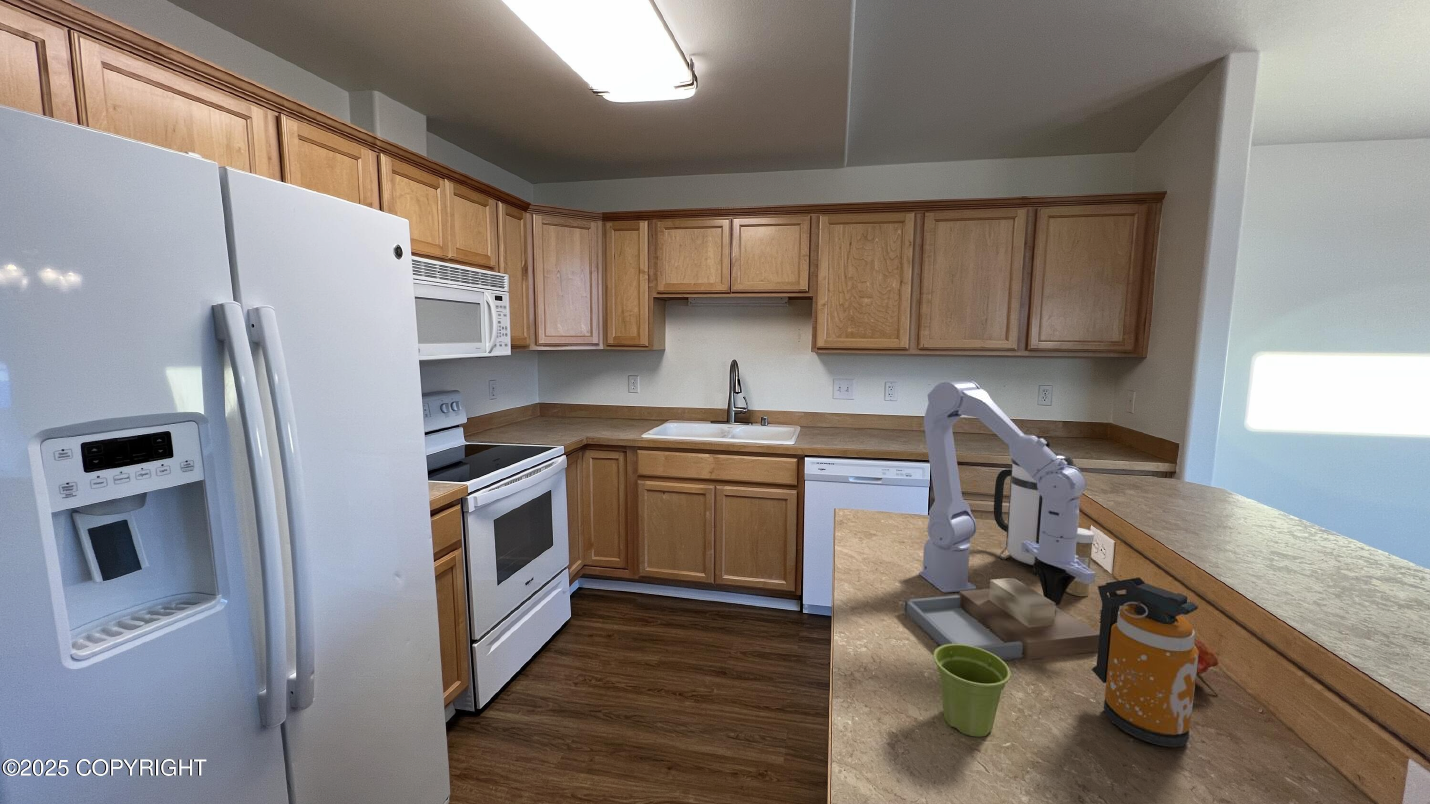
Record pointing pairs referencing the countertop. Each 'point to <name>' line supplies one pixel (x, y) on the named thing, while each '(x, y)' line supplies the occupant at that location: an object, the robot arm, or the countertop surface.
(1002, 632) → the walnut plate
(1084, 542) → the sprinkles bottle
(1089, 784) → the countertop surface
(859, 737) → the countertop surface
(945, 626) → the box
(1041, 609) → the cream rectangular box
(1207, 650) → the pomegranate
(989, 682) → the plant pot
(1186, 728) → the canister
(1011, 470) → the coffee press
